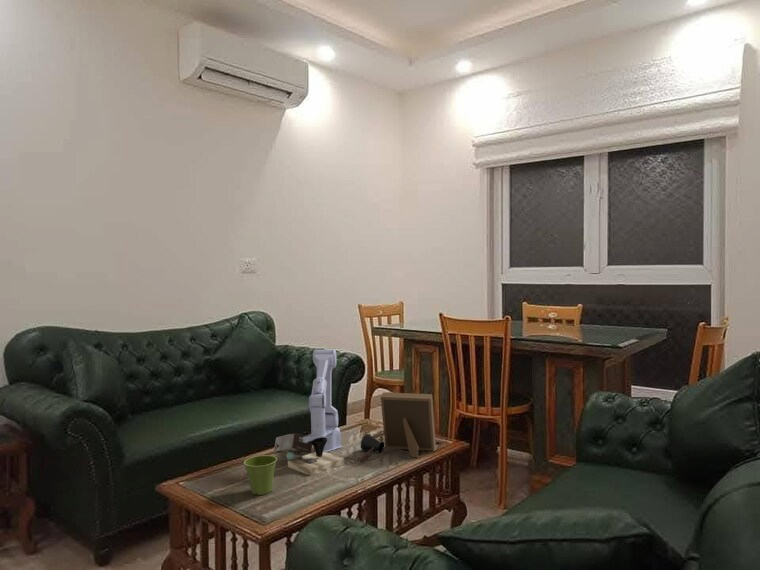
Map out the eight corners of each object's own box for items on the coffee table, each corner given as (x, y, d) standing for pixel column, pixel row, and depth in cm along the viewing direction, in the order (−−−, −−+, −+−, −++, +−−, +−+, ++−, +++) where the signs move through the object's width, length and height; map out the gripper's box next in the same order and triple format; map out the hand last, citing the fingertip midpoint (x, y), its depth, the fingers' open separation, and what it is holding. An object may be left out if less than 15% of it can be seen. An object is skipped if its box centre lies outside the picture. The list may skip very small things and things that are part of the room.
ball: (303, 464, 223) (308, 468, 225) (309, 465, 221) (314, 469, 223) (307, 456, 225) (311, 460, 227) (313, 457, 223) (317, 461, 225)
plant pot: (263, 482, 208) (263, 452, 208) (285, 490, 201) (284, 459, 200) (237, 493, 199) (236, 461, 199) (258, 501, 192) (257, 468, 191)
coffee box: (294, 442, 240) (314, 437, 229) (291, 457, 237) (311, 453, 226) (275, 437, 236) (295, 432, 224) (272, 452, 233) (292, 448, 221)
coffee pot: (369, 446, 248) (385, 451, 244) (345, 463, 233) (362, 469, 229) (369, 430, 247) (386, 436, 242) (346, 447, 232) (363, 453, 227)
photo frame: (387, 444, 250) (386, 389, 249) (435, 447, 244) (434, 391, 243) (378, 456, 236) (377, 397, 235) (429, 459, 230) (428, 399, 229)
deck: (320, 456, 237) (320, 450, 237) (344, 464, 226) (344, 458, 226) (287, 466, 225) (287, 460, 225) (310, 475, 214) (310, 469, 214)
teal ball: (294, 450, 228) (287, 454, 228) (291, 449, 225) (284, 453, 225) (297, 458, 226) (289, 461, 227) (294, 457, 223) (286, 460, 224)
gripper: (310, 428, 219) (311, 463, 219) (338, 421, 229) (339, 453, 229) (299, 425, 224) (300, 459, 224) (327, 418, 234) (328, 450, 234)
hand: (319, 456), depth 227 cm, fingers closed
